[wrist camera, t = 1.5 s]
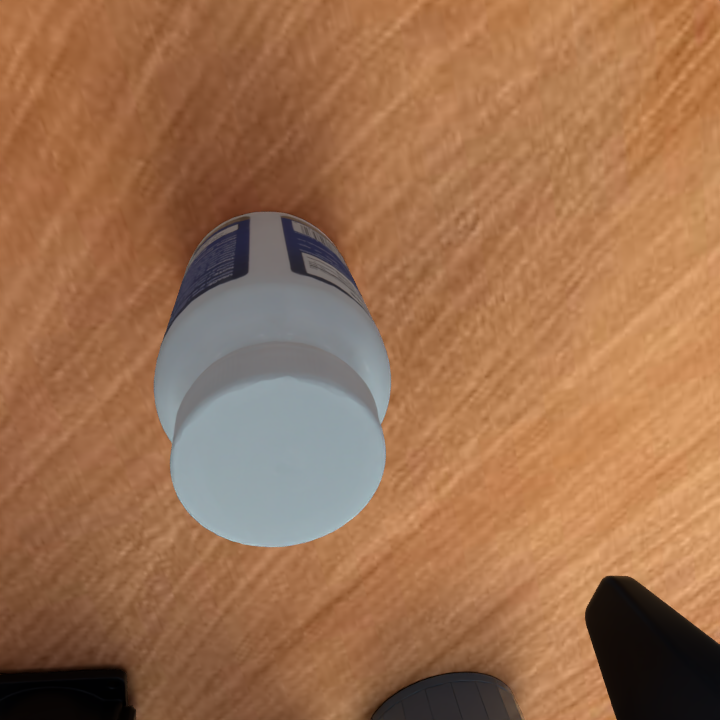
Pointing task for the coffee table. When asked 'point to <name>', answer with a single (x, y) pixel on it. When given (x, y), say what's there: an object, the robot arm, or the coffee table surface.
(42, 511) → the coffee table surface
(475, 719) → the cup
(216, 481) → the pill bottle
